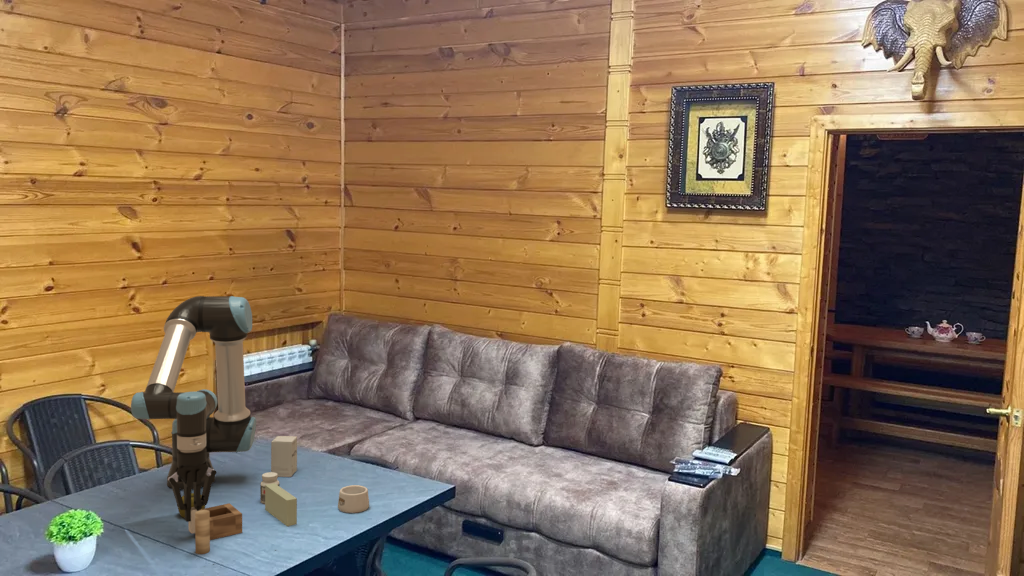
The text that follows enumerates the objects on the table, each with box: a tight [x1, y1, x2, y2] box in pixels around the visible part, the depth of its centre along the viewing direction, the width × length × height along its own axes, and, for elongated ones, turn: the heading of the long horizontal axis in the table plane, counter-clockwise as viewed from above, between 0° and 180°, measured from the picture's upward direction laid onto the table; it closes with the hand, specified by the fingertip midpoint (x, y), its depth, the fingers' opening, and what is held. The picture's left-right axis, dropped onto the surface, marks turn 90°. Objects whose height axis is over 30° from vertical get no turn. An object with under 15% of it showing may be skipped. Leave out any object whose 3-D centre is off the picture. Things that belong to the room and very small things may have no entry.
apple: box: [177, 492, 206, 519], centre depth 238 cm, size 8×8×7 cm
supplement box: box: [270, 435, 298, 478], centre depth 280 cm, size 7×7×13 cm
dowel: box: [194, 510, 211, 555], centre depth 212 cm, size 4×4×12 cm
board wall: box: [264, 483, 298, 527], centre depth 230 cm, size 16×28×9 cm, turn 129°
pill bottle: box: [259, 471, 280, 505], centre depth 250 cm, size 6×6×10 cm
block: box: [200, 502, 243, 541], centre depth 226 cm, size 10×10×6 cm
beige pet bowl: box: [337, 484, 370, 514], centre depth 250 cm, size 12×10×6 cm
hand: (192, 531), depth 221 cm, fingers closed
